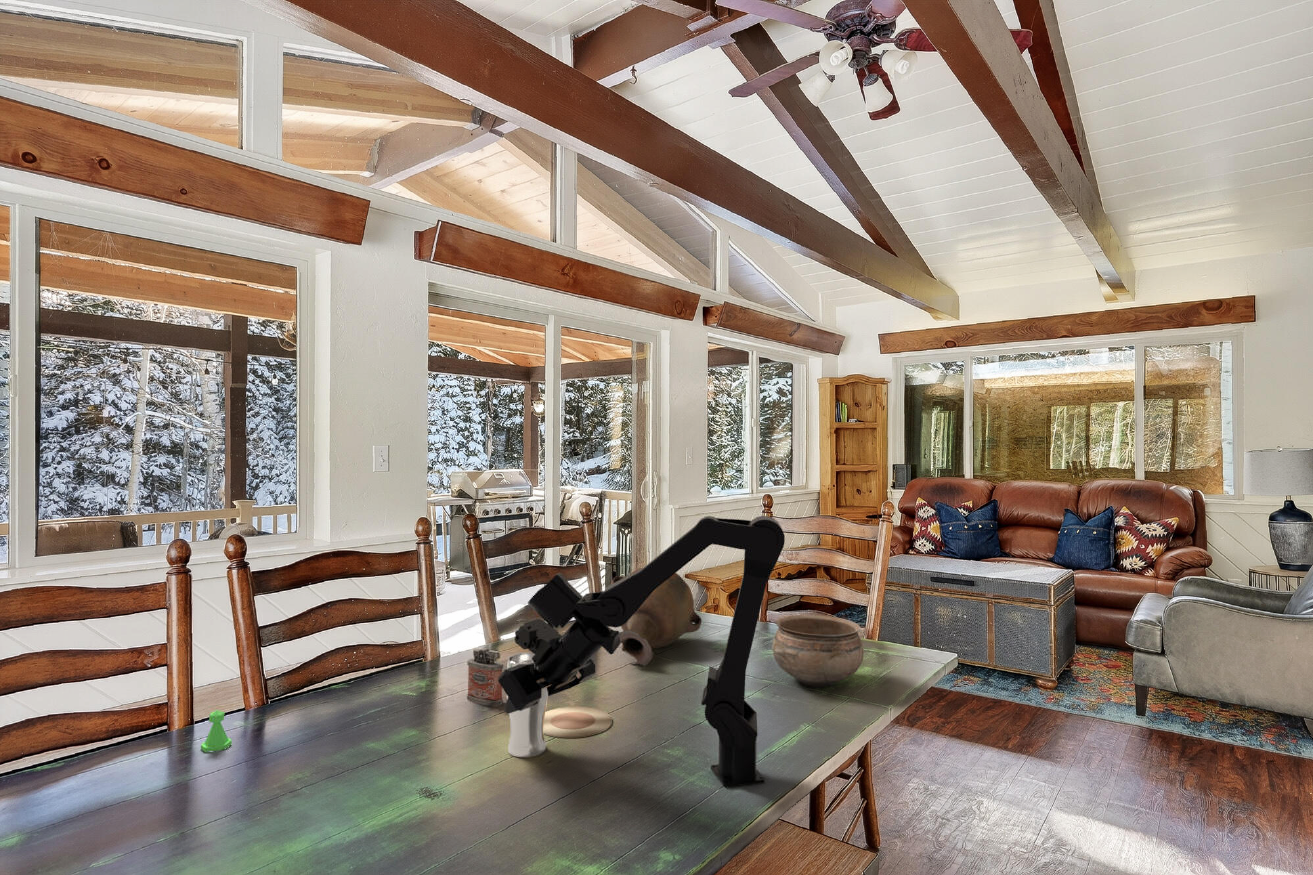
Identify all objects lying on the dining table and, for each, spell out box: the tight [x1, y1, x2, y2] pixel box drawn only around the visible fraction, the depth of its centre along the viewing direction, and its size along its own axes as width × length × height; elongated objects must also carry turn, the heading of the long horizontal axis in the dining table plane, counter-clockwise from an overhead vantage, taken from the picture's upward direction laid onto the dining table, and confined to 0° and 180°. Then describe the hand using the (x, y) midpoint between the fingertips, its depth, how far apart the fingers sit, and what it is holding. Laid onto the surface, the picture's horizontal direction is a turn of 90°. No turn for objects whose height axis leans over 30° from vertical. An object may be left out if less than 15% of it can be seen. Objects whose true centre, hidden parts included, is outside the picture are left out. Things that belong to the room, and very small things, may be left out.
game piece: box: [200, 709, 233, 753], centre depth 119 cm, size 4×4×6 cm
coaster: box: [543, 706, 613, 739], centre depth 131 cm, size 14×14×1 cm
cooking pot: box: [772, 614, 865, 688], centre depth 155 cm, size 25×19×12 cm
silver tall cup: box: [505, 651, 549, 758], centre depth 119 cm, size 7×7×15 cm
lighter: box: [466, 647, 504, 707], centre depth 141 cm, size 8×3×10 cm, turn 62°
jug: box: [610, 567, 702, 667], centre depth 177 cm, size 20×20×30 cm
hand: (520, 704), depth 120 cm, fingers closed on silver tall cup, 7 cm apart
